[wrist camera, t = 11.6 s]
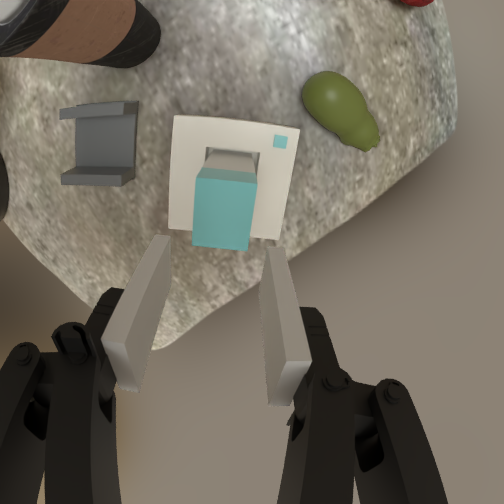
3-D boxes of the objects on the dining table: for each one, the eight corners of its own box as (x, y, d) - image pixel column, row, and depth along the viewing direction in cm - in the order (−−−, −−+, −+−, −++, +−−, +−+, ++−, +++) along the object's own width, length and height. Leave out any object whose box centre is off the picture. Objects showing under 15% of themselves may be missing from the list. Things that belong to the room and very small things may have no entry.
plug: (209, 193, 30) (191, 245, 20) (213, 149, 27) (195, 177, 17) (245, 197, 30) (247, 251, 20) (251, 153, 28) (257, 183, 17)
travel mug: (175, 44, 22) (76, -27, 4) (116, 83, 23) (-24, 87, 6) (146, 0, 18) (49, -77, 1) (91, 38, 20) (-38, 16, 2)
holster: (78, 176, 28) (61, 186, 25) (79, 104, 24) (59, 107, 20) (135, 177, 29) (121, 188, 25) (138, 100, 25) (124, 100, 21)
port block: (174, 216, 32) (167, 230, 29) (181, 114, 26) (173, 115, 23) (275, 227, 33) (279, 241, 30) (294, 127, 27) (300, 129, 24)
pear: (342, 60, 19) (400, 134, 24) (319, 61, 23) (373, 123, 28) (301, 99, 21) (366, 169, 26) (284, 95, 25) (344, 154, 30)
